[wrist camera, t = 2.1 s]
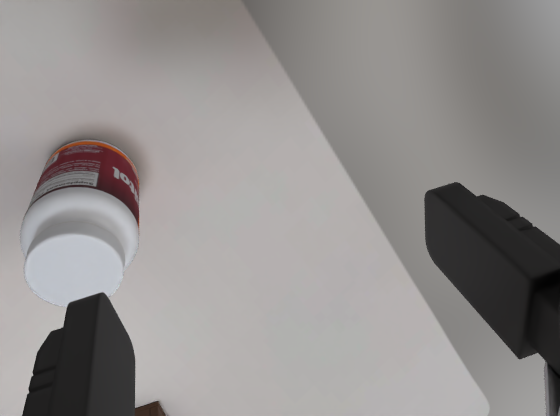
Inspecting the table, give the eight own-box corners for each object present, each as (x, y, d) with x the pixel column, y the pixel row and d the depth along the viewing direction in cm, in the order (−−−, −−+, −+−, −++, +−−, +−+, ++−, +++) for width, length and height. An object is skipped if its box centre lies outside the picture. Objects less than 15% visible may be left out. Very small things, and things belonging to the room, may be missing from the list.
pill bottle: (147, 208, 35) (150, 307, 26) (59, 222, 34) (30, 332, 25) (129, 129, 32) (124, 211, 23) (31, 143, 31) (-15, 234, 21)
